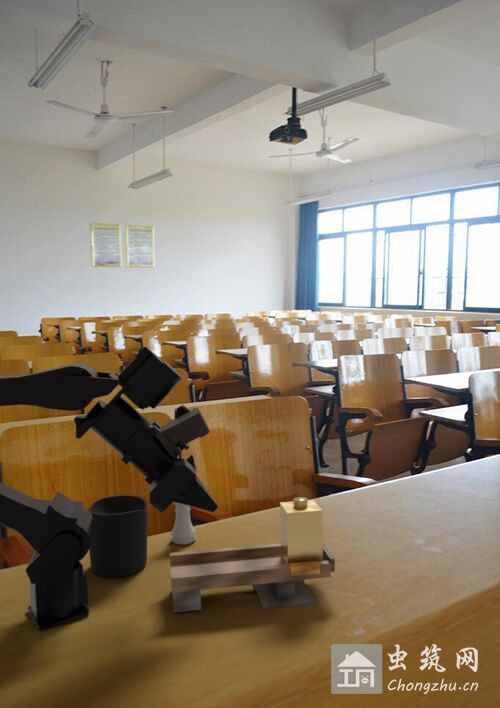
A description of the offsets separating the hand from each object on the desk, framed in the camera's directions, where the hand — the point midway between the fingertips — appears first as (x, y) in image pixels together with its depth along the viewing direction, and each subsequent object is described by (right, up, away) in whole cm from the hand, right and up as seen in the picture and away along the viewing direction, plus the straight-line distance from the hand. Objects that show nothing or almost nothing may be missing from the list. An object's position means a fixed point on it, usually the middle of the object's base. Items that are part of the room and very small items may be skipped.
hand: (215, 508), depth 79 cm
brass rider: (+12, -8, +2) cm, 15 cm away
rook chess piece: (-7, -12, +21) cm, 25 cm away
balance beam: (+5, -12, +2) cm, 13 cm away
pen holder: (-16, -13, +12) cm, 23 cm away
